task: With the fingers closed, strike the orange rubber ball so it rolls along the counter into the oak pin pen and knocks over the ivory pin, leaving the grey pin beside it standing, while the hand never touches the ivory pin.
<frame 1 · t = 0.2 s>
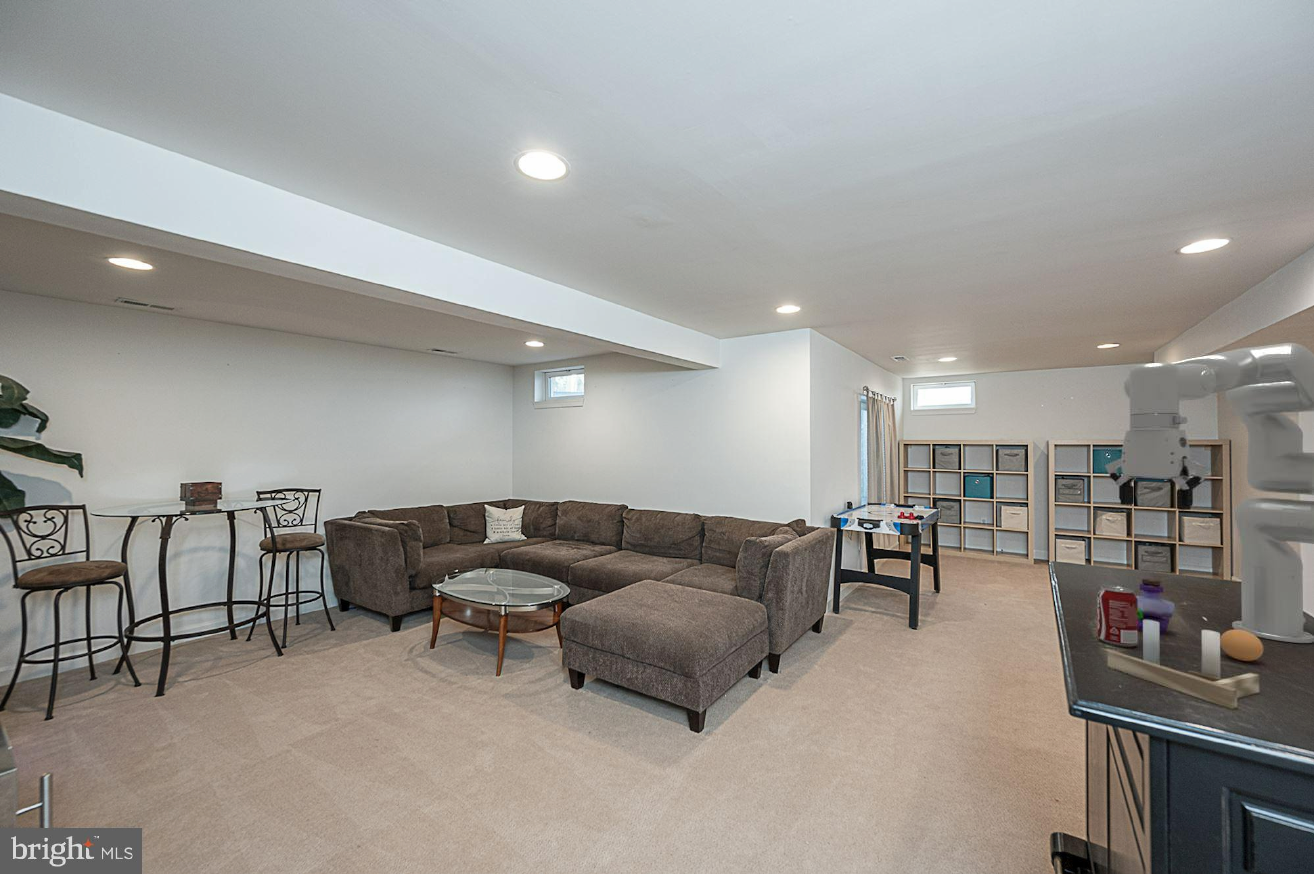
hand: (1154, 506, 111), 31 cm above the table, tool pointing down, fingers open, 9 cm apart
potion bottle: (1151, 630, 128), on the table
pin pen: (1188, 676, 101), on the table
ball: (1241, 644, 110), on the table
grey pin: (1151, 664, 107), on the table
soda can: (1117, 643, 119), on the table
ivory pin: (1211, 677, 101), on the table
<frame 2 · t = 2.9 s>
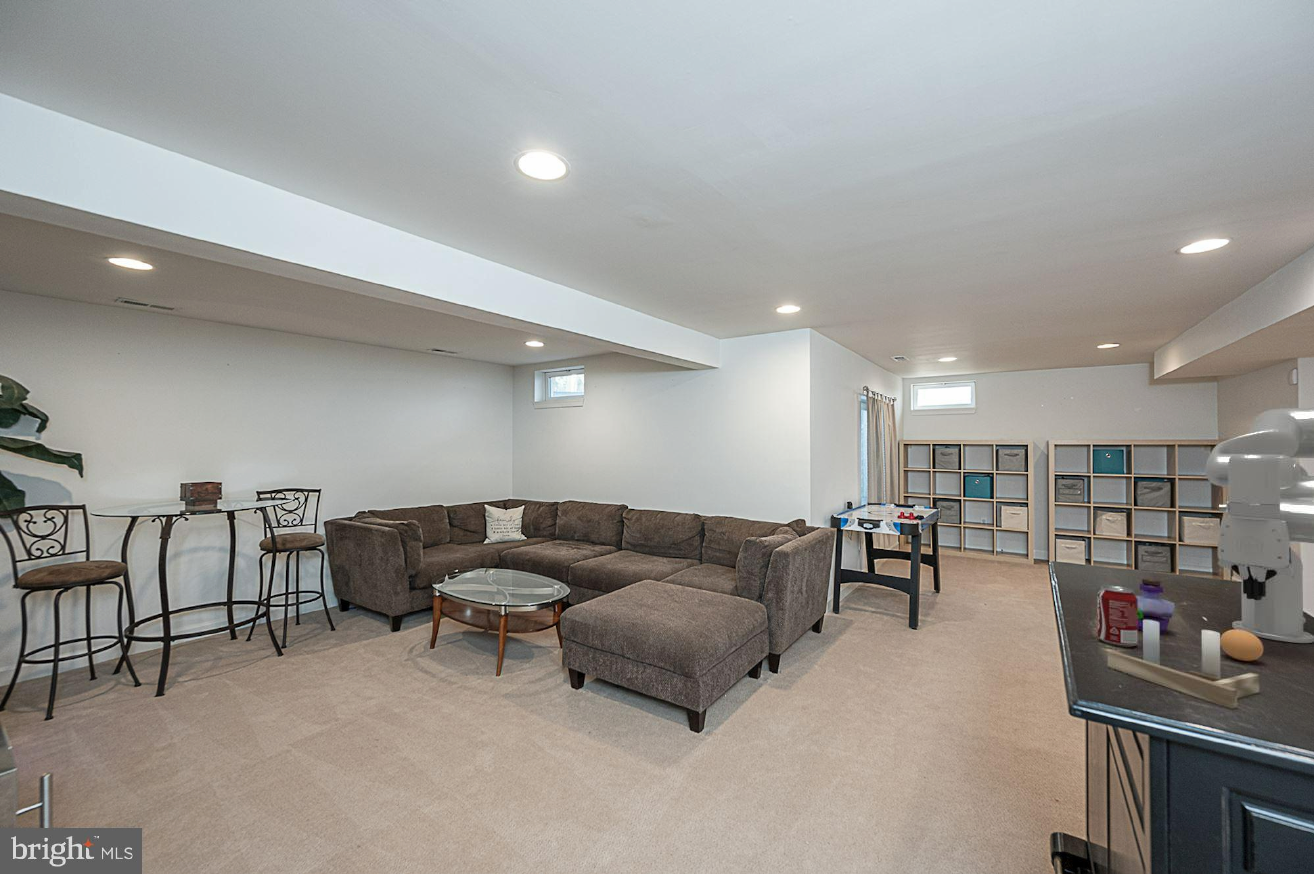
hand: (1254, 598, 115), 11 cm above the table, tool pointing down, fingers closed
nothing on the table moved.
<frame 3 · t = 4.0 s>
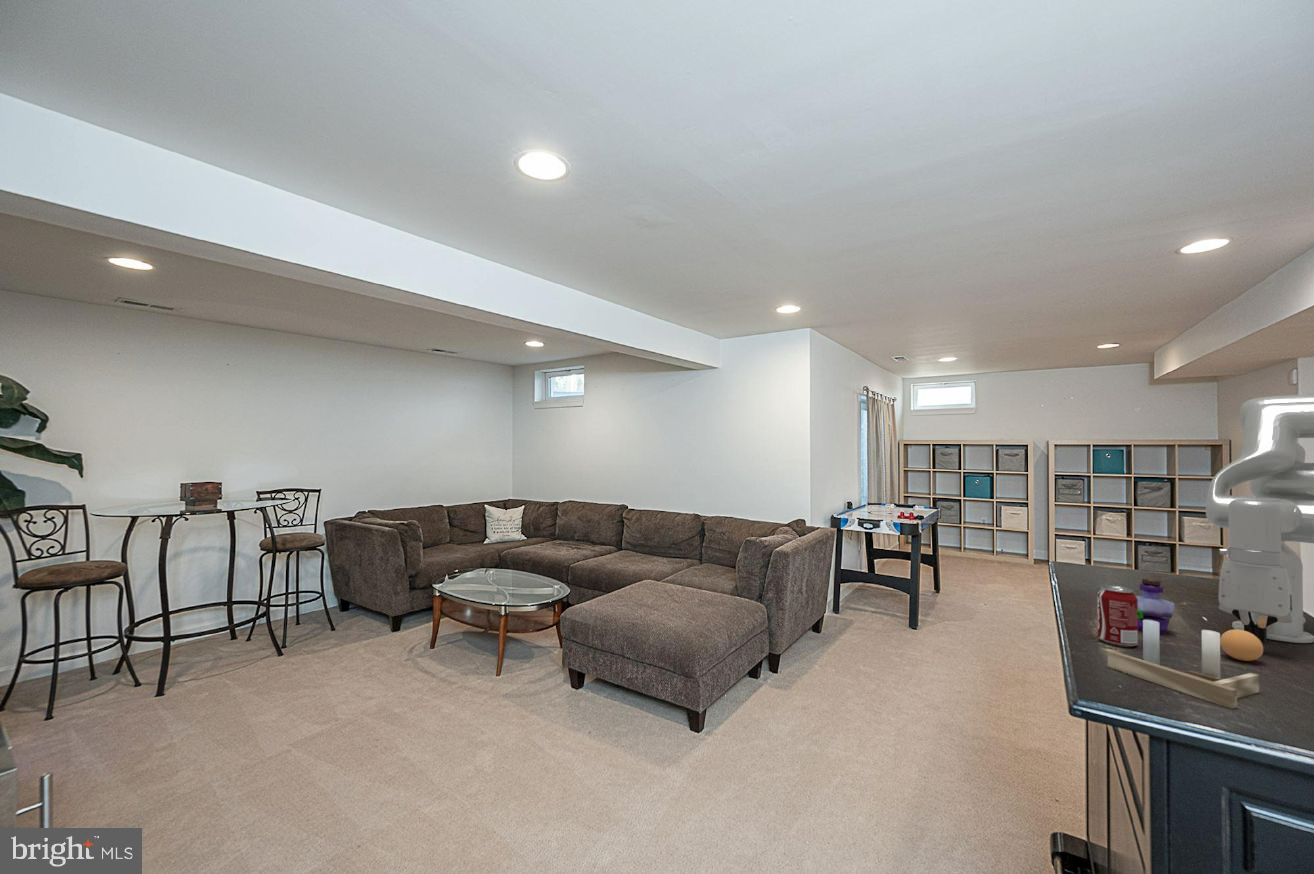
hand: (1255, 644, 115), 2 cm above the table, tool pointing down, fingers closed
nothing on the table moved.
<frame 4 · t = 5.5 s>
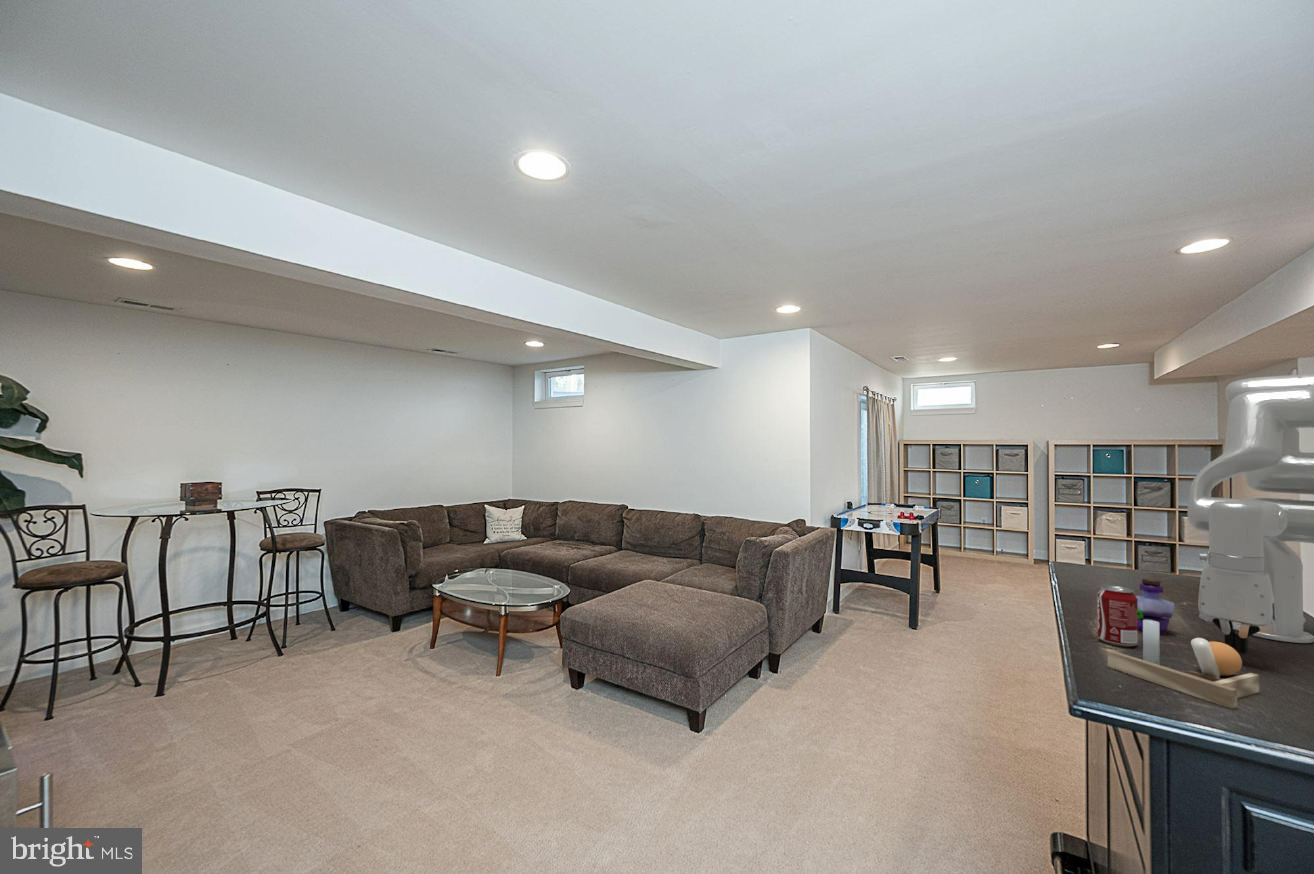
hand: (1236, 654, 109), 2 cm above the table, tool pointing down, fingers closed
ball: (1218, 658, 103), on the table
ivory pin: (1211, 673, 101), point 1 cm above the table, tilted 40°
everything else where it was.
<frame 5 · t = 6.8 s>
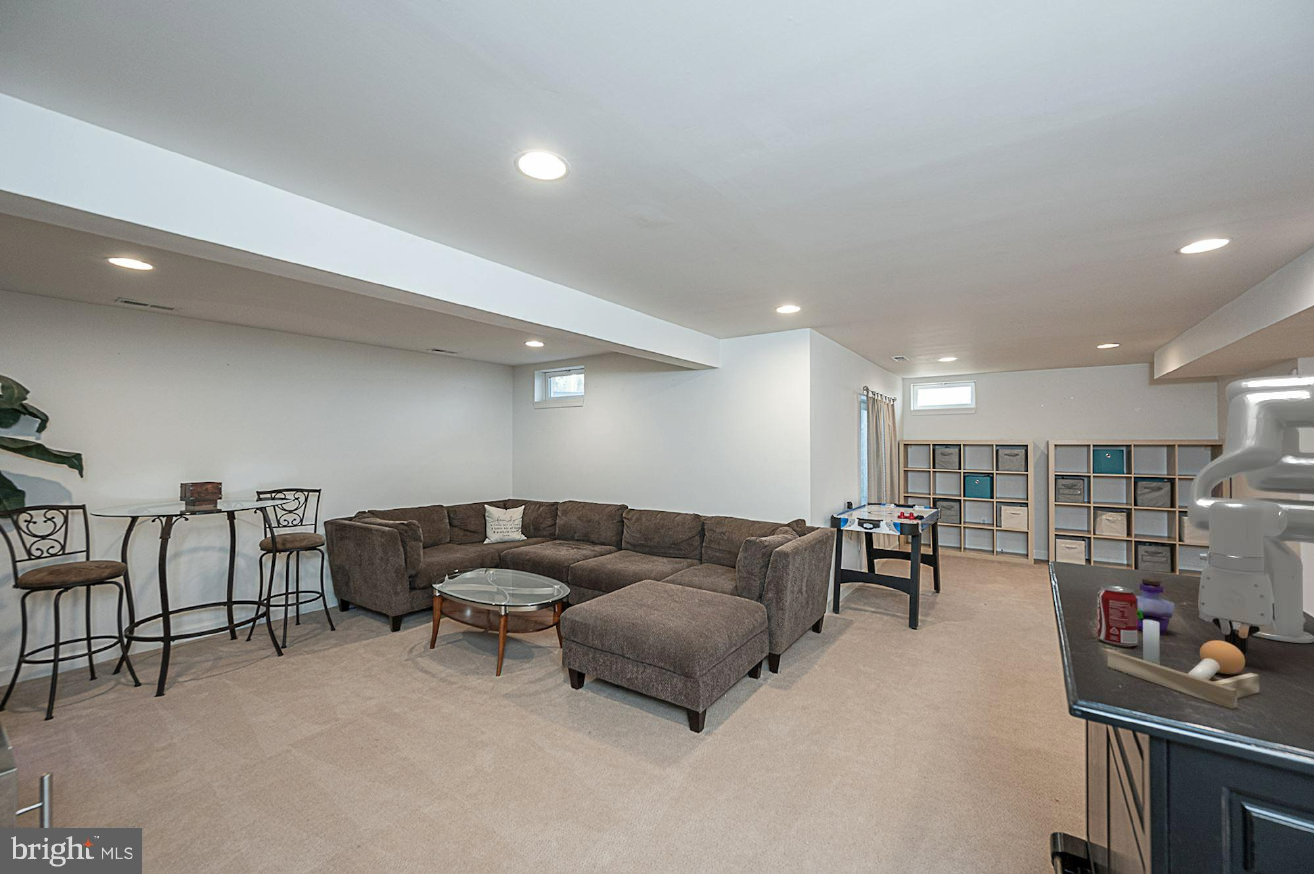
hand: (1236, 654, 109), 2 cm above the table, tool pointing down, fingers closed
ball: (1222, 657, 103), on the table
ivory pin: (1210, 664, 101), point 2 cm above the table, tilted 98°
everything else where it was.
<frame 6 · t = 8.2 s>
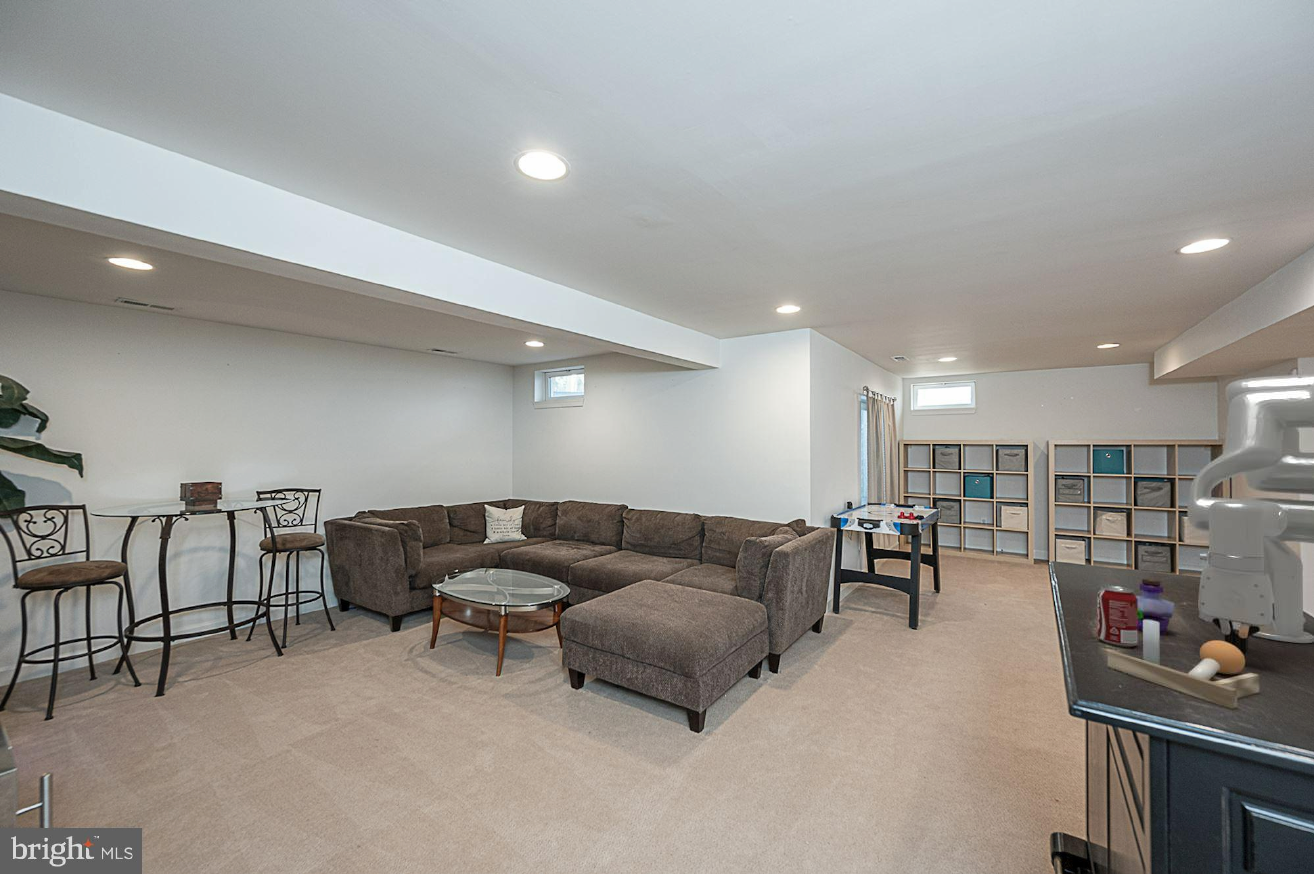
hand: (1236, 654, 109), 2 cm above the table, tool pointing down, fingers closed
ivory pin: (1210, 664, 101), point 2 cm above the table, tilted 98°, touching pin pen
everything else where it was.
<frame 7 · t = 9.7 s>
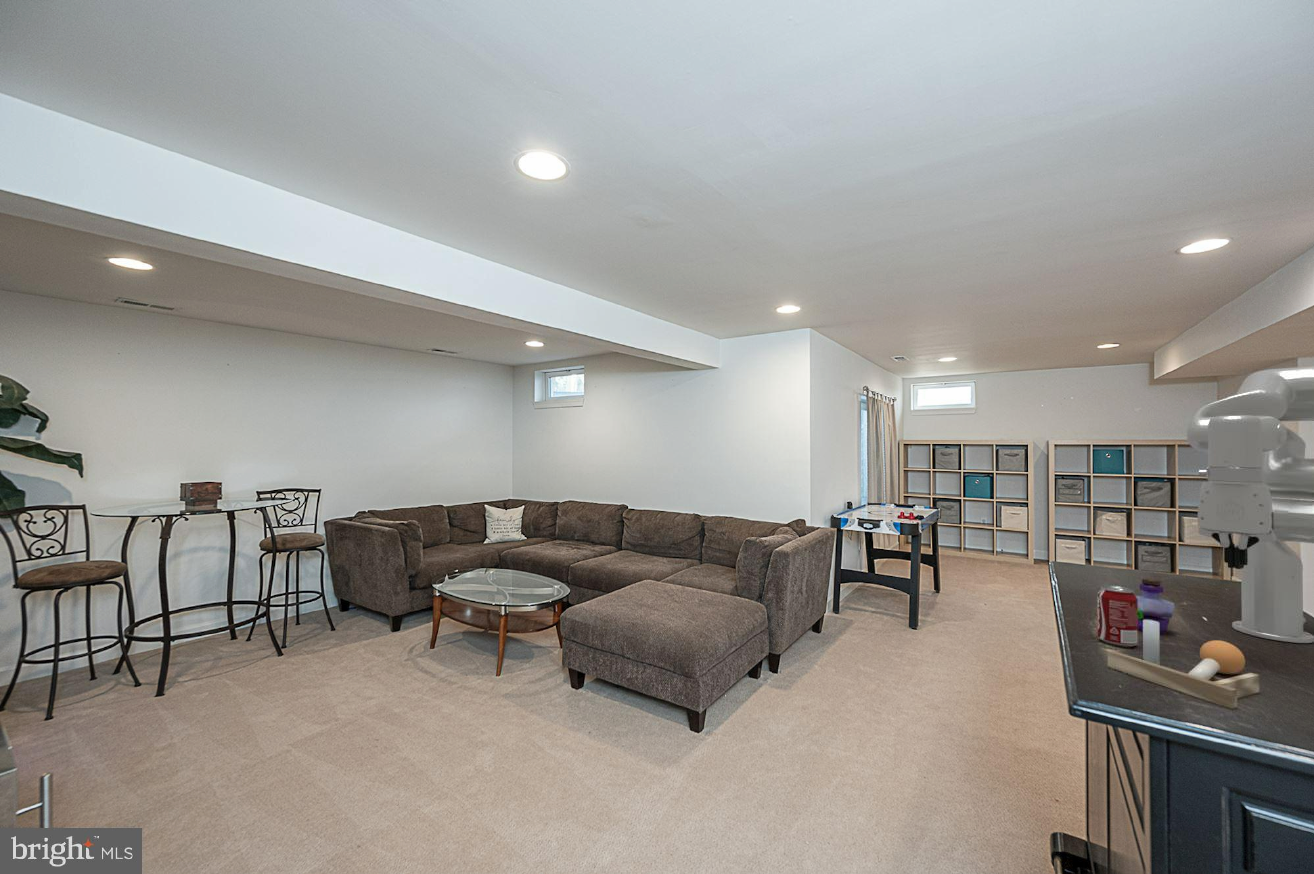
hand: (1235, 567, 109), 19 cm above the table, tool pointing down, fingers closed
nothing on the table moved.
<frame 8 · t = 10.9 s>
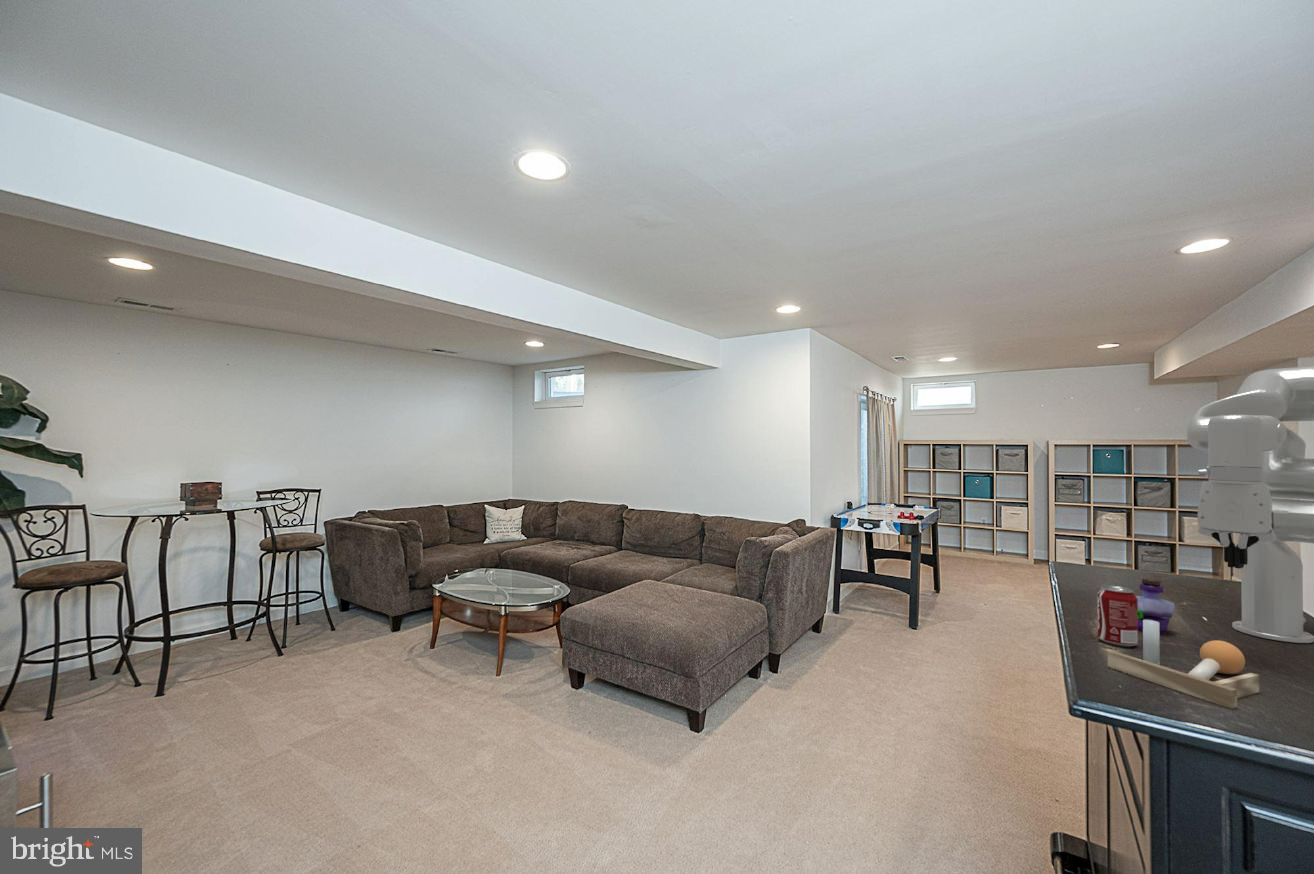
hand: (1235, 566, 109), 19 cm above the table, tool pointing down, fingers closed
nothing on the table moved.
at the end: ivory pin tilted 98°; ivory pin never touched the robot; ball moved 13.0 cm from its start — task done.
